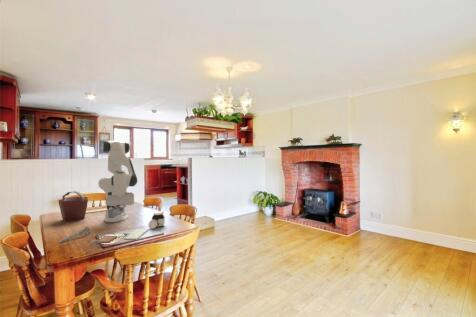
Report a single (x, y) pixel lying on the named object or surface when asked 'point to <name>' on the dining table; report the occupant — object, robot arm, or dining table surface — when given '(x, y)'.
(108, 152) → the robot arm
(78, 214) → the bucket
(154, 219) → the spread jar
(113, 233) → the mat
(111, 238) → the tile
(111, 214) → the pusher bar
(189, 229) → the dining table surface
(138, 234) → the tool board
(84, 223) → the dining table surface
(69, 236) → the caliper
